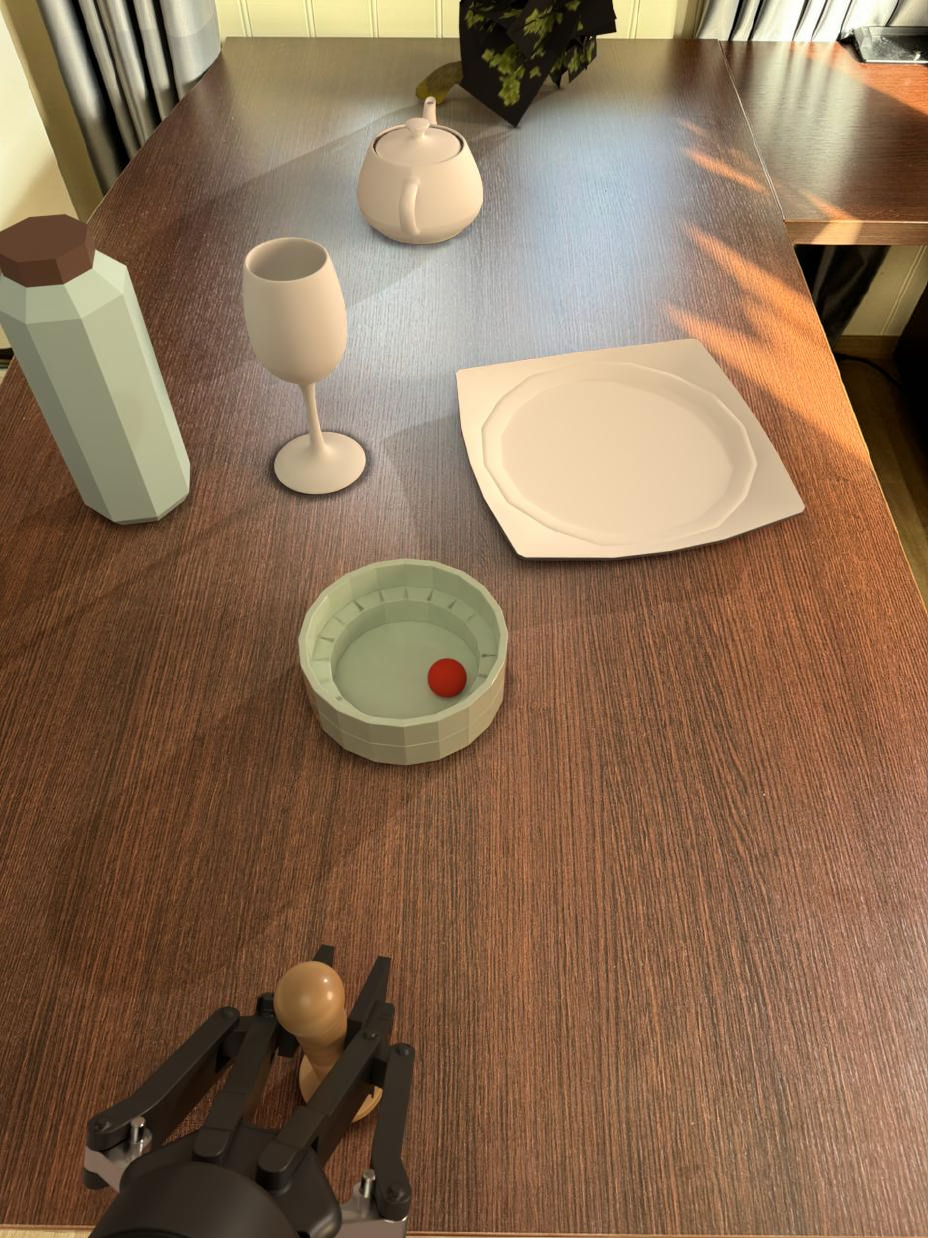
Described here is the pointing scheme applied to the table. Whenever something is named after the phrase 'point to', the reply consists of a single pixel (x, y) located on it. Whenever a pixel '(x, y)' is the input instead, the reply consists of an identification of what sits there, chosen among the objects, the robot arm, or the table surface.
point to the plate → (619, 453)
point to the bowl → (403, 659)
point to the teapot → (419, 181)
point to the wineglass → (301, 351)
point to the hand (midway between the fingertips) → (353, 973)
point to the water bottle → (92, 368)
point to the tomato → (447, 678)
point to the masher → (316, 1023)
